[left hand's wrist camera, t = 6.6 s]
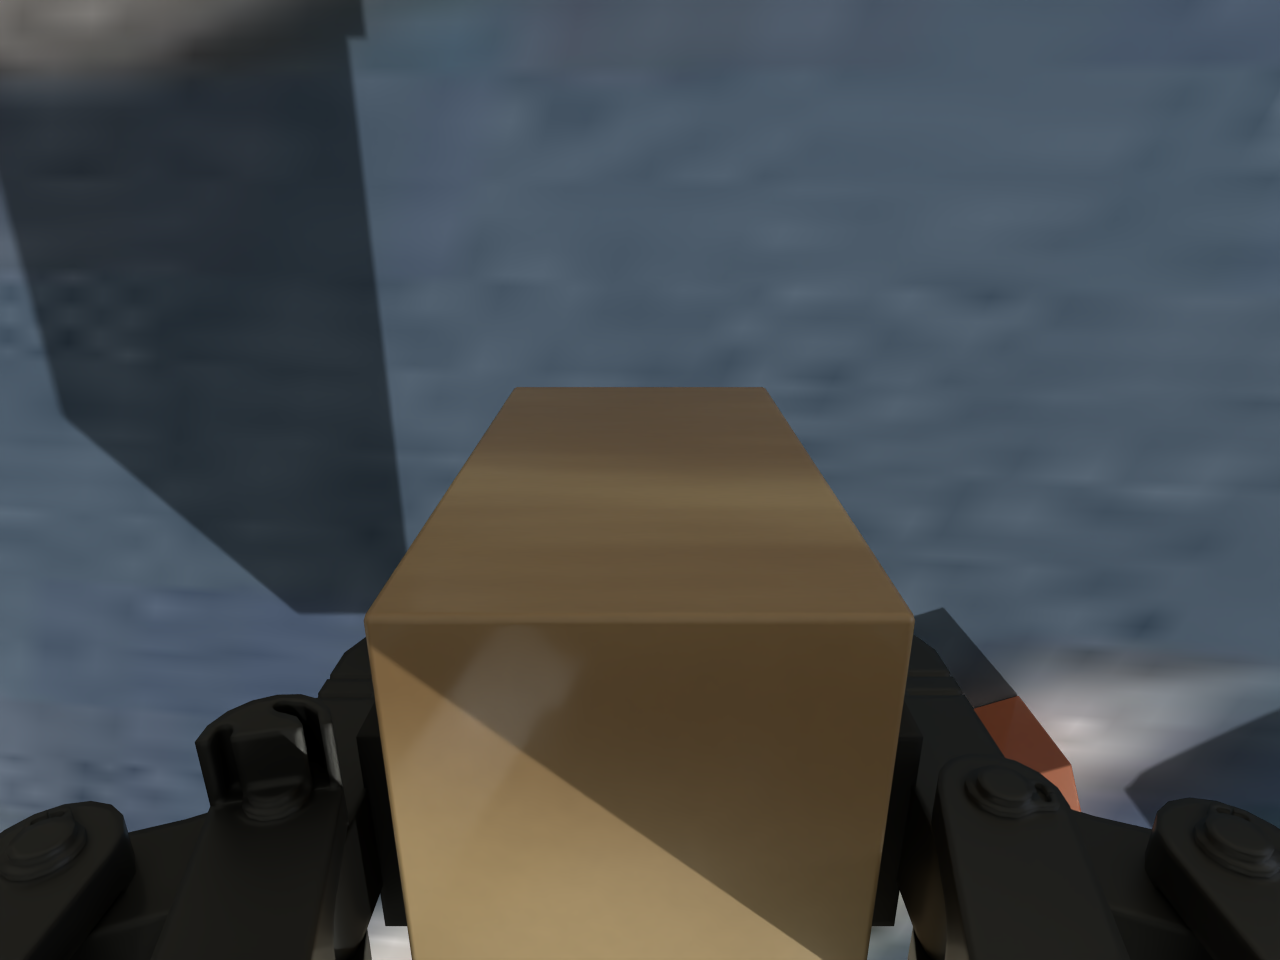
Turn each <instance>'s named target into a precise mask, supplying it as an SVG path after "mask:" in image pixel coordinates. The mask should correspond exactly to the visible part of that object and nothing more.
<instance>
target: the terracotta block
mask: <svg viewBox="0 0 1280 960" xmlns="http://www.w3.org/2000/svg"><path fill="white" fill-rule="evenodd" d="M974 710H975V712H976V714H977V715H978V717H979V718H980V720H981V721H982V723H983V724H984V726H985V727H986V729H987V730H988V732H989V734H990V735H991V737H992V738H993V740H994V741H995V743H996V744H997V746H998V747H999V749H1000V750H1001V752H1002V753H1003V755H1004V757H1005V758H1008V759H1011V760H1015V761H1017V762H1019V763H1021V764H1023V765H1025V766H1027V767H1030V768H1032V769H1034V770H1036V771H1038V772H1039V773H1041V774H1042V775H1043V776H1044V777H1045V778H1047V779H1048V780H1049V781H1050V782H1052V783H1053V784H1054V785H1055V786H1057V787H1058V788H1059V790H1060V791H1061V793H1062V794H1063V796H1064V797H1065V799H1066V801H1067V802H1068V804H1069V805H1070V807H1071V809H1073V810H1076V811H1079V812H1081V809H1080V805H1079V800H1078V795H1077V790H1076V785H1075V781H1074V776H1073V771H1072V766H1071V764H1070V762H1069V761H1068V760H1067V758H1066V757H1065V756H1064V755H1063V753H1062V752H1061V751H1060V749H1059V748H1058V747H1057V745H1056V744H1055V743H1054V741H1053V740H1052V739H1051V737H1050V736H1049V735H1048V734H1047V732H1046V731H1045V730H1044V728H1043V727H1042V726H1041V724H1040V723H1039V722H1038V720H1037V719H1036V718H1035V717H1034V715H1033V714H1032V713H1031V711H1030V710H1029V709H1028V707H1027V706H1026V705H1025V703H1024V702H1023V701H1022V699H1021V698H1020V697H1019V696H1015V697H1012V698H1009V699H1005V700H1002V701H998V702H995V703H991V704H988V705H984V706H981V707H978V708H974Z"/></svg>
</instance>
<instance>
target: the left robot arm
mask: <svg viewBox="0 0 1280 960" xmlns="http://www.w3.org/2000/svg"><path fill="white" fill-rule="evenodd" d="M195 745H196V749H197V753H198V757H199V761H200V766H201V770H202V774H203V778H204V782H205V786H206V790H207V794H208V798H209V802H210V809H209V811H208V813H205V814H202V815H198V816H195V817H192V818H188V819H185V820H181V821H176V822H172V823H168V824H163V825H159V826H155V827H150V828H146V829H142V830H137V831H133V832H129V833H128V830H127V827H126V824H125V820H124V817H123V815H122V814H121V813H120V812H119V811H118V810H117V809H116V808H115V807H114V806H112V805H110V804H105V803H99V802H94V801H87V802H79V803H71V804H64V805H61V806H58V807H55V808H52V809H49V810H45V811H43V812H40V813H37V814H34V815H32V816H30V817H28V818H26V819H24V820H23V821H21V822H19V823H17V824H15V825H13V826H11V827H9V828H7V829H6V830H4V831H3V832H1V833H0V960H372V957H371V950H370V942H369V936H368V930H367V927H368V924H369V922H370V919H371V916H372V914H373V911H374V908H375V906H376V903H377V900H378V897H379V895H380V894H381V900H382V907H383V913H384V920H385V926H407V920H406V913H405V906H404V899H403V892H402V885H401V878H400V871H399V864H398V857H397V850H396V843H395V836H394V829H393V822H392V815H391V808H390V801H389V794H388V787H387V780H386V773H385V766H384V759H383V752H382V745H381V738H380V731H379V724H378V717H377V710H376V703H375V696H374V689H373V682H372V675H371V668H370V661H369V654H368V647H367V640H366V637H365V638H364V639H363V640H361V641H360V642H358V643H357V644H356V645H354V646H353V647H352V648H350V649H349V650H348V651H346V652H345V653H344V654H343V656H342V657H341V659H340V661H339V662H338V664H337V665H336V667H335V668H334V670H333V671H332V673H331V674H330V679H327V681H326V682H325V684H324V685H323V687H322V688H321V690H320V691H319V693H318V698H313V697H309V696H306V695H302V694H290V695H274V696H270V697H266V698H261V699H257V700H253V701H250V702H248V703H246V704H243V705H241V706H239V707H236V708H234V709H232V710H229V711H227V712H226V713H225V714H223V715H222V716H220V717H219V718H218V719H216V720H215V721H213V722H212V723H211V724H209V725H208V726H207V727H206V728H205V729H204V731H203V732H202V733H201V735H200V736H199V737H198V739H197V740H196V741H195ZM899 890H900V892H901V895H902V898H903V901H904V903H905V906H906V909H907V911H908V914H909V917H910V919H911V922H912V925H913V930H912V936H911V942H910V948H909V954H908V960H1280V829H1278V828H1277V827H1276V826H1274V825H1272V824H1270V823H1268V822H1266V821H1264V820H1263V819H1261V818H1259V817H1257V816H1255V815H1253V814H1251V813H1249V812H1247V811H1245V810H1242V809H1239V808H1236V807H1234V806H1230V805H1227V804H1224V803H1221V802H1218V801H1213V800H1204V799H1196V798H1184V799H1179V800H1173V801H1169V802H1167V803H1166V804H1165V805H1164V806H1163V807H1162V808H1161V809H1160V810H1159V811H1158V812H1157V815H1156V818H1155V821H1154V825H1153V828H1152V829H1148V828H1144V827H1139V826H1135V825H1131V824H1126V823H1122V822H1117V821H1113V820H1109V819H1104V818H1100V817H1096V816H1092V815H1089V814H1086V813H1082V812H1079V811H1076V810H1073V809H1071V807H1070V805H1069V804H1068V802H1067V801H1066V799H1065V797H1064V796H1063V794H1062V793H1061V791H1060V790H1059V788H1058V787H1057V786H1055V785H1054V784H1053V783H1052V782H1050V781H1049V780H1048V779H1047V778H1045V777H1044V776H1043V775H1042V774H1041V773H1039V772H1038V771H1036V770H1034V769H1032V768H1030V767H1027V766H1025V765H1023V764H1021V763H1019V762H1017V761H1015V760H1011V759H1008V758H1005V757H1004V755H1003V753H1002V752H1001V750H1000V749H999V747H998V746H997V744H996V743H995V741H994V740H993V738H992V737H991V735H990V734H989V732H988V730H987V729H986V727H985V726H984V724H983V723H982V721H981V720H980V718H979V717H978V715H977V714H976V712H975V710H974V709H973V707H972V706H971V704H970V703H969V701H968V700H967V698H966V697H965V695H962V690H961V689H960V687H959V686H958V684H957V683H956V681H955V680H954V678H953V677H950V672H949V671H948V669H947V667H946V666H945V664H944V663H943V661H942V660H941V658H940V657H939V655H938V654H937V652H936V651H935V650H934V649H933V648H932V647H930V646H929V645H927V644H926V643H925V642H923V641H922V640H921V639H919V638H918V637H916V636H915V635H914V634H913V638H912V645H911V652H910V659H909V666H908V673H907V680H906V687H905V694H904V701H903V708H902V716H901V723H900V730H899V737H898V744H897V751H896V758H895V765H894V772H893V779H892V786H891V793H890V800H889V807H888V814H887V821H886V828H885V835H884V842H883V849H882V856H881V863H880V870H879V877H878V885H877V892H876V899H875V906H874V913H873V920H872V926H894V923H895V916H896V910H897V903H898V897H899Z"/></svg>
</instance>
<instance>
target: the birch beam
mask: <svg viewBox="0 0 1280 960" xmlns="http://www.w3.org/2000/svg"><path fill="white" fill-rule="evenodd" d="M914 624H915V619H914V616H913V613H912V612H911V610H910V609H909V607H908V606H907V604H906V603H905V601H904V600H903V598H902V597H901V595H900V594H899V592H898V591H897V589H896V587H895V586H894V584H893V583H892V581H891V580H890V578H889V577H888V575H887V574H886V572H885V571H884V569H883V568H882V566H881V565H880V563H879V561H878V560H877V558H876V557H875V555H874V554H873V552H872V551H871V549H870V548H869V546H868V545H867V543H866V542H865V540H864V539H863V537H862V535H861V534H860V532H859V531H858V529H857V528H856V526H855V525H854V523H853V522H852V520H851V519H850V517H849V516H848V514H847V513H846V511H845V510H844V508H843V506H842V505H841V503H840V502H839V500H838V499H837V497H836V496H835V494H834V493H833V491H832V490H831V488H830V487H829V485H828V484H827V482H826V480H825V479H824V477H823V476H822V474H821V473H820V471H819V470H818V468H817V467H816V465H815V464H814V462H813V461H812V459H811V458H810V456H809V454H808V453H807V451H806V450H805V448H804V447H803V445H802V444H801V442H800V441H799V439H798V438H797V436H796V435H795V433H794V432H793V430H792V428H791V427H790V425H789V424H788V422H787V421H786V419H785V418H784V416H783V415H782V413H781V412H780V410H779V409H778V407H777V406H776V404H775V402H774V401H773V399H772V398H771V396H770V395H769V393H768V392H767V390H766V389H765V388H763V387H517V388H514V390H513V391H512V393H511V394H510V396H509V397H508V399H507V400H506V402H505V403H504V405H503V407H502V408H501V410H500V411H499V413H498V414H497V416H496V417H495V419H494V420H493V422H492V423H491V425H490V426H489V428H488V429H487V431H486V432H485V434H484V435H483V437H482V438H481V440H480V441H479V443H478V444H477V446H476V447H475V449H474V451H473V452H472V454H471V455H470V457H469V458H468V460H467V461H466V463H465V464H464V466H463V467H462V469H461V470H460V472H459V473H458V475H457V476H456V478H455V479H454V481H453V482H452V484H451V485H450V487H449V488H448V490H447V492H446V493H445V495H444V496H443V498H442V499H441V501H440V502H439V504H438V505H437V507H436V508H435V510H434V511H433V513H432V514H431V516H430V517H429V519H428V520H427V522H426V523H425V525H424V526H423V528H422V529H421V531H420V532H419V534H418V536H417V537H416V539H415V540H414V542H413V543H412V545H411V546H410V548H409V549H408V551H407V552H406V554H405V555H404V557H403V558H402V560H401V561H400V563H399V564H398V566H397V567H396V569H395V570H394V572H393V573H392V575H391V577H390V578H389V580H388V581H387V583H386V584H385V586H384V587H383V589H382V590H381V592H380V593H379V595H378V596H377V598H376V599H375V601H374V602H373V604H372V605H371V607H370V608H369V610H368V611H367V613H366V615H365V618H364V626H365V633H366V640H367V647H368V654H369V661H370V668H371V675H372V682H373V689H374V696H375V703H376V710H377V717H378V724H379V731H380V738H381V745H382V752H383V759H384V766H385V773H386V780H387V787H388V794H389V801H390V808H391V815H392V822H393V829H394V836H395V843H396V850H397V857H398V864H399V871H400V878H401V885H402V892H403V899H404V906H405V913H406V920H407V927H408V934H409V941H410V948H411V955H412V960H867V955H868V948H869V941H870V934H871V927H872V920H873V913H874V906H875V899H876V892H877V885H878V877H879V870H880V863H881V856H882V849H883V842H884V835H885V828H886V821H887V814H888V807H889V800H890V793H891V786H892V779H893V772H894V765H895V758H896V751H897V744H898V737H899V730H900V723H901V716H902V708H903V701H904V694H905V687H906V680H907V673H908V666H909V659H910V652H911V645H912V638H913V631H914Z"/></svg>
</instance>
